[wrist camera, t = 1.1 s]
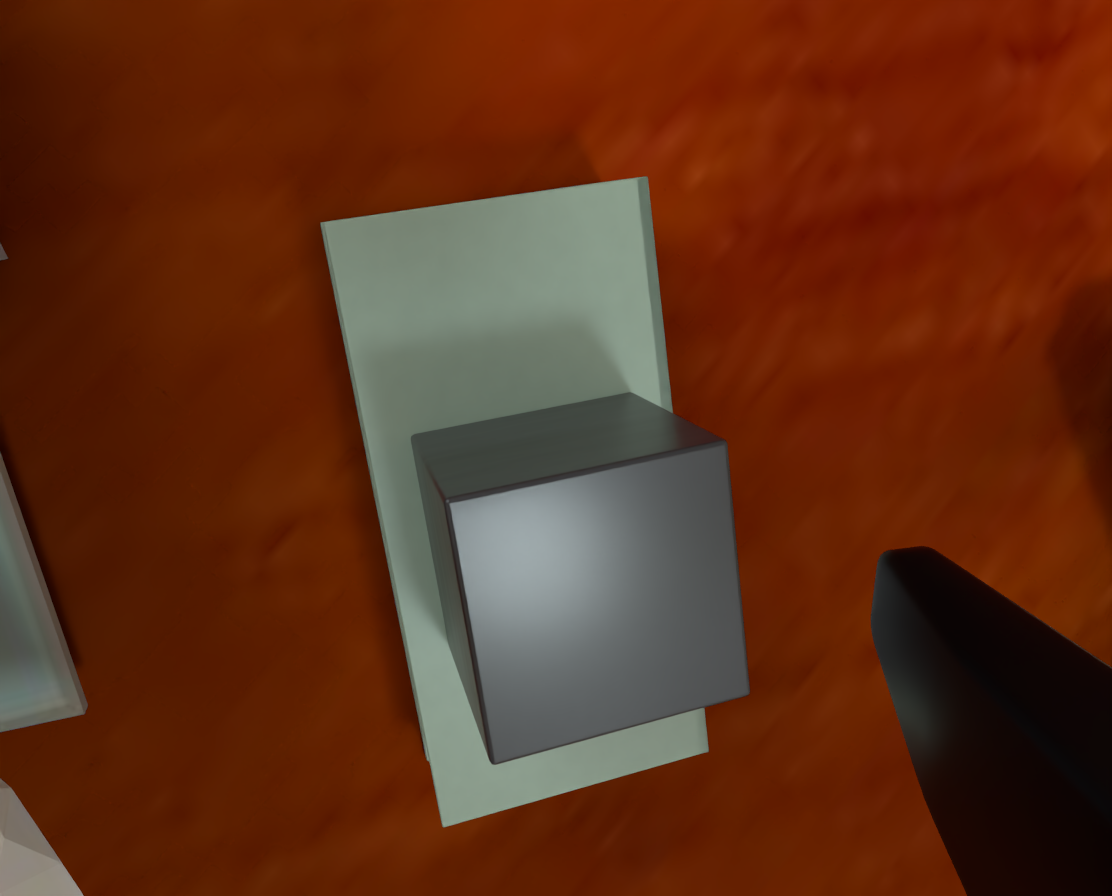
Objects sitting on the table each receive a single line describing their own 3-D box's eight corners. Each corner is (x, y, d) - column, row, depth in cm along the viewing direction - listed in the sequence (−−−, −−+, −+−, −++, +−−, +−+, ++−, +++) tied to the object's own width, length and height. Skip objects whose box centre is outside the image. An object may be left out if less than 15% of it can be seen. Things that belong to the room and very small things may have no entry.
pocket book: (663, 692, 27) (709, 752, 24) (425, 756, 25) (442, 828, 22) (602, 182, 23) (648, 176, 20) (319, 222, 21) (322, 222, 18)
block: (656, 596, 22) (752, 696, 18) (448, 647, 21) (491, 768, 16) (632, 390, 21) (729, 439, 16) (409, 433, 20) (443, 499, 15)
